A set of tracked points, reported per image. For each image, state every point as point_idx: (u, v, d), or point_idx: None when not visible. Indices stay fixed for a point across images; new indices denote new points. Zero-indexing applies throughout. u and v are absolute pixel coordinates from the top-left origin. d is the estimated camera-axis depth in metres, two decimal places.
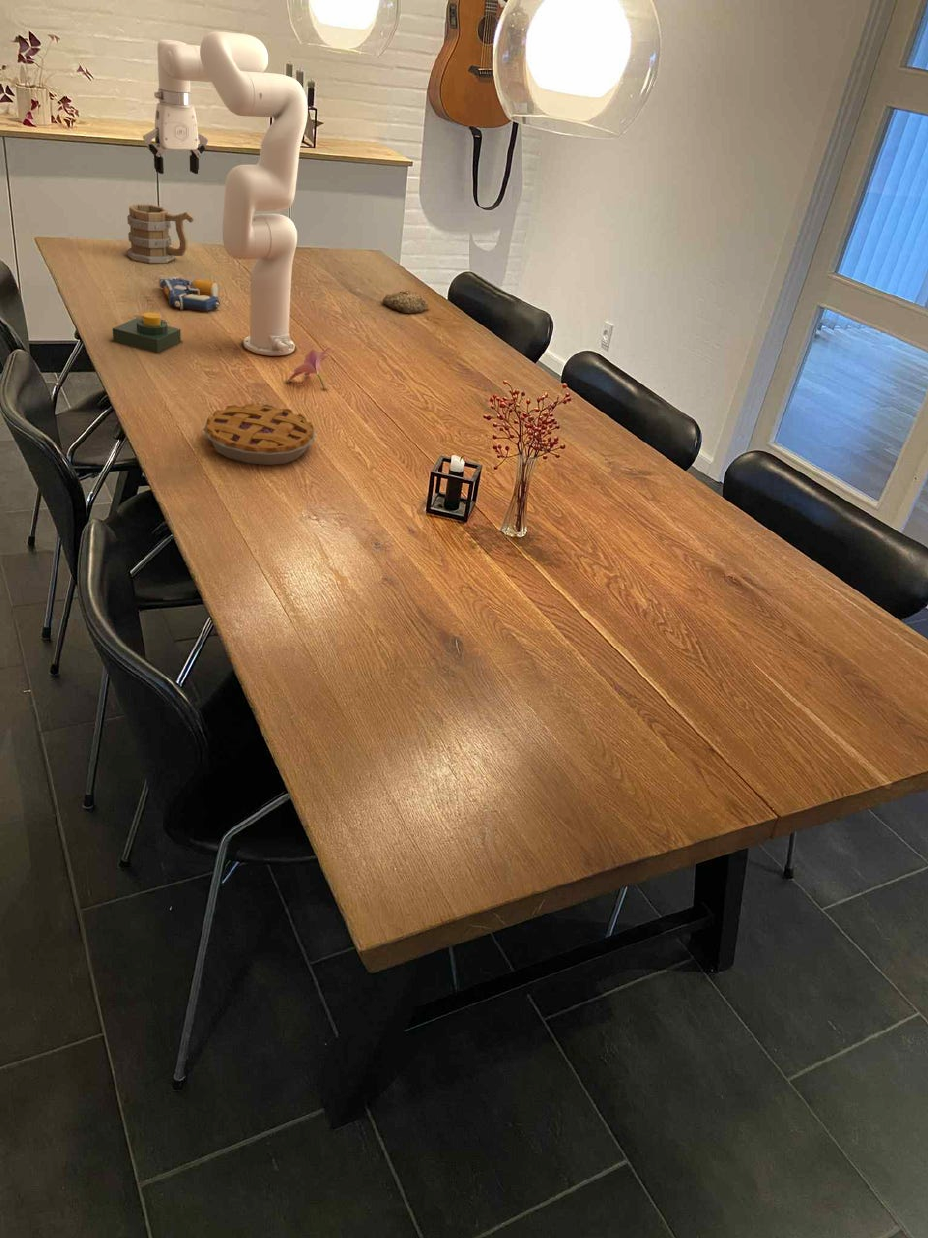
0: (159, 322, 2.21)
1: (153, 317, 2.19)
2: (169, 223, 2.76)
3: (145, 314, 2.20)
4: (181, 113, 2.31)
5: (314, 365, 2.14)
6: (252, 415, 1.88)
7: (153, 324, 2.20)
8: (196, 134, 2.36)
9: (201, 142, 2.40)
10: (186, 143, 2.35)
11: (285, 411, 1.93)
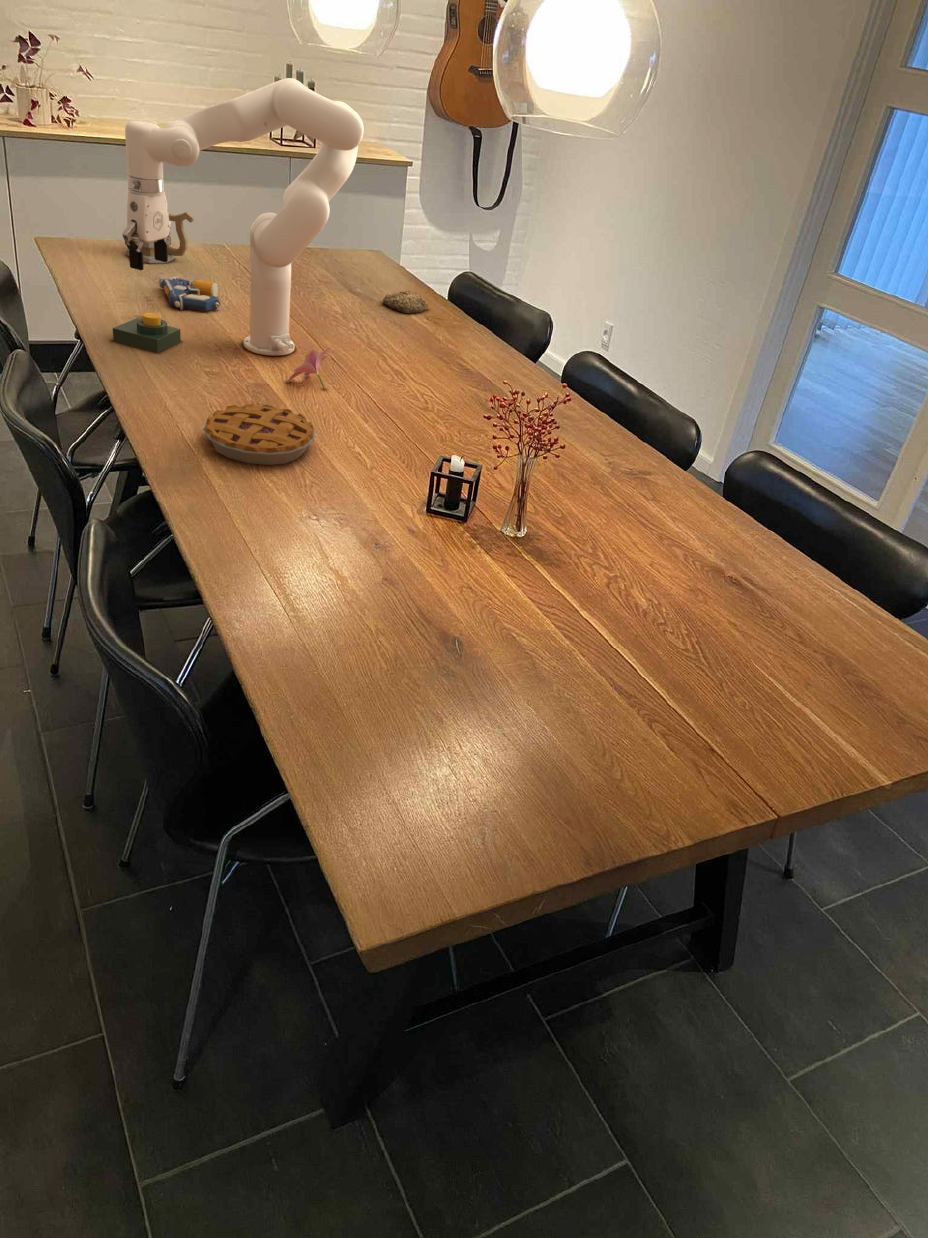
0: (159, 322, 2.21)
1: (153, 317, 2.19)
2: None
3: (145, 314, 2.20)
4: (158, 201, 2.06)
5: (314, 365, 2.14)
6: (252, 415, 1.88)
7: (153, 324, 2.20)
8: (168, 220, 2.11)
9: None
10: (162, 232, 2.10)
11: (285, 411, 1.93)
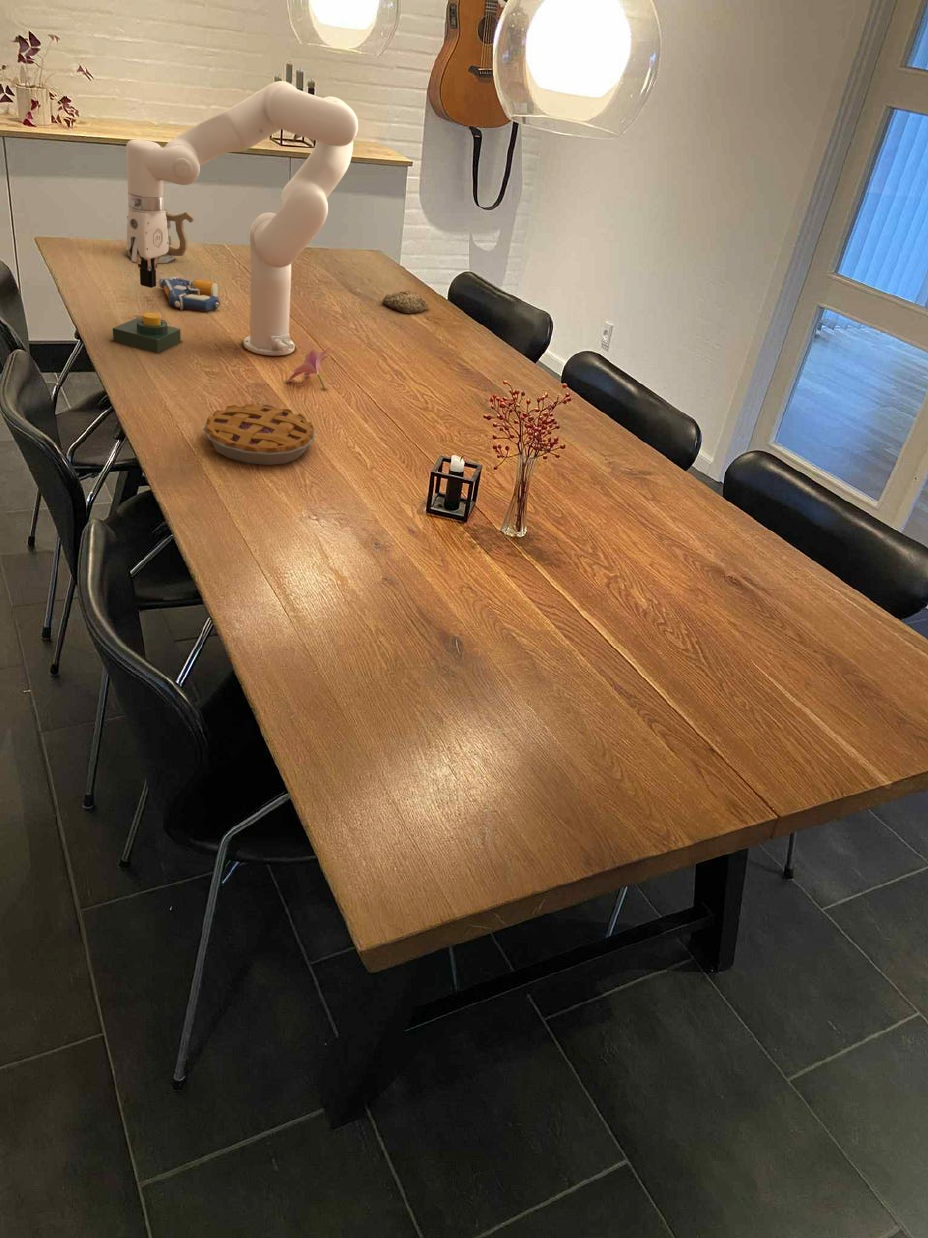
0: (159, 322, 2.21)
1: (153, 317, 2.19)
2: (169, 223, 2.76)
3: (145, 314, 2.20)
4: (158, 218, 2.07)
5: (314, 365, 2.14)
6: (252, 415, 1.88)
7: (153, 324, 2.20)
8: (167, 237, 2.13)
9: None
10: (161, 249, 2.12)
11: (285, 411, 1.93)
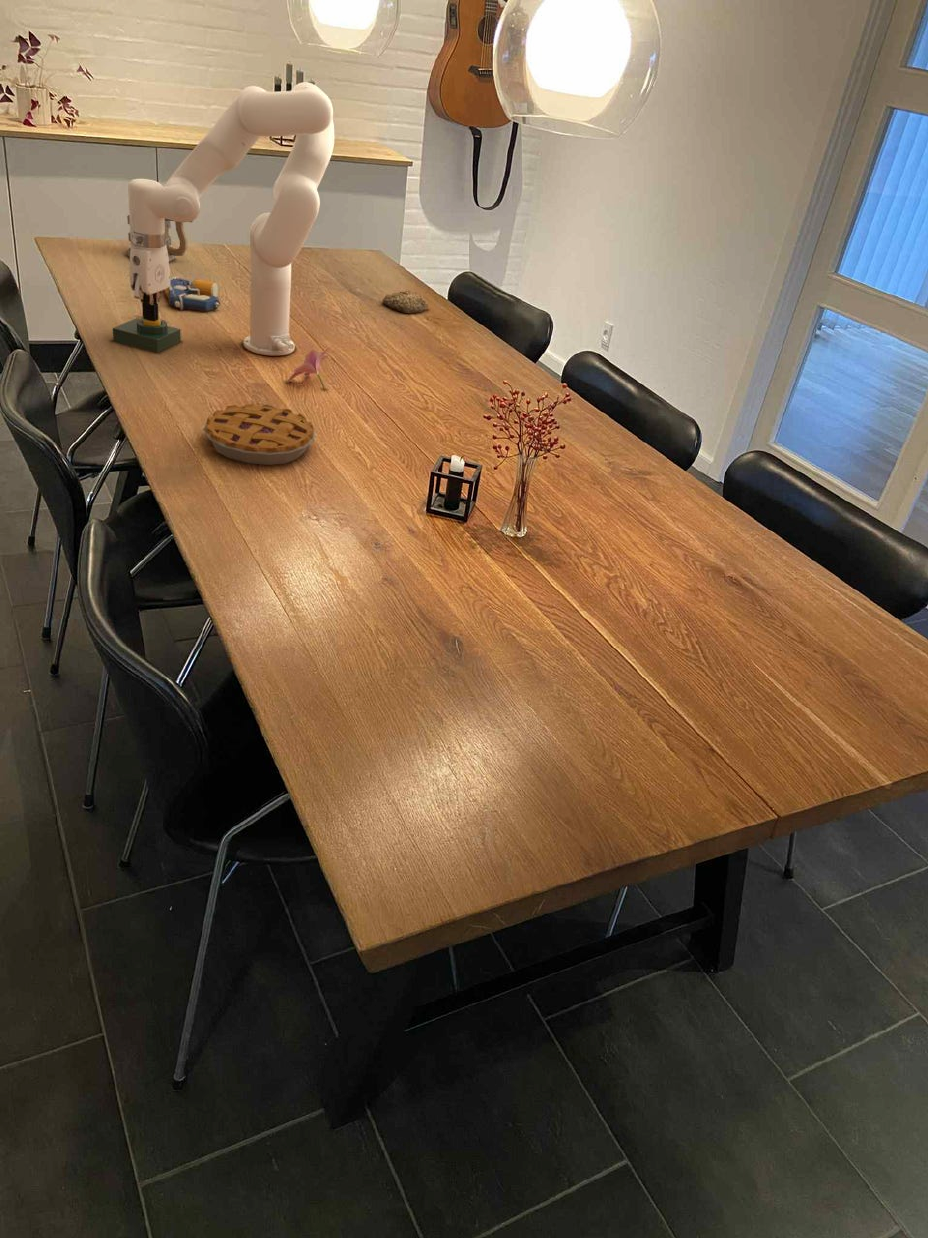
0: None
1: (153, 321, 2.20)
2: (169, 223, 2.76)
3: None
4: (159, 255, 2.12)
5: (314, 365, 2.14)
6: (252, 415, 1.88)
7: None
8: (169, 272, 2.18)
9: None
10: (163, 284, 2.17)
11: (285, 411, 1.93)
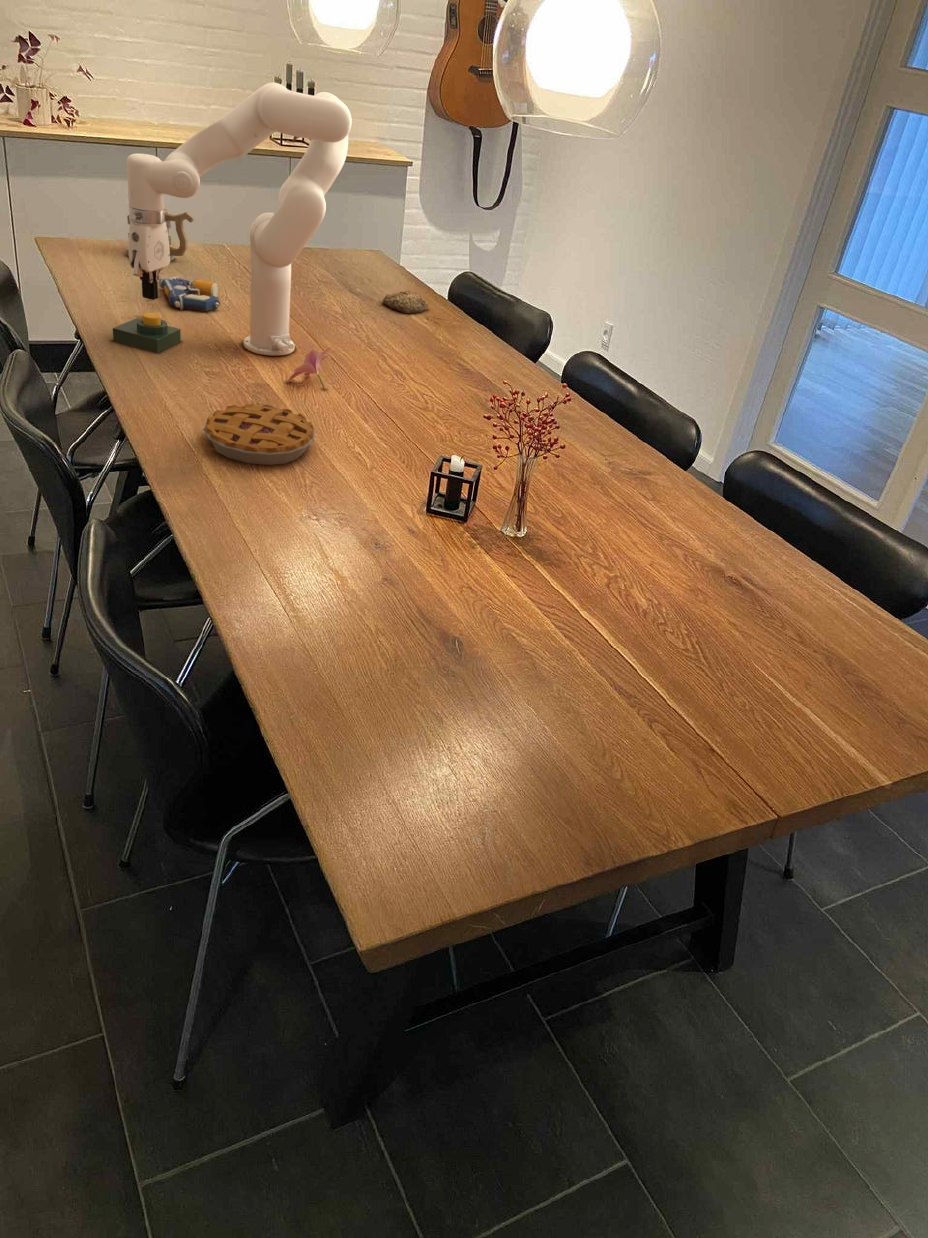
0: (159, 322, 2.21)
1: (153, 317, 2.19)
2: (169, 223, 2.76)
3: (145, 314, 2.20)
4: (159, 231, 2.09)
5: (314, 365, 2.14)
6: (252, 415, 1.88)
7: (153, 324, 2.20)
8: (169, 249, 2.15)
9: None
10: (163, 261, 2.14)
11: (285, 411, 1.93)
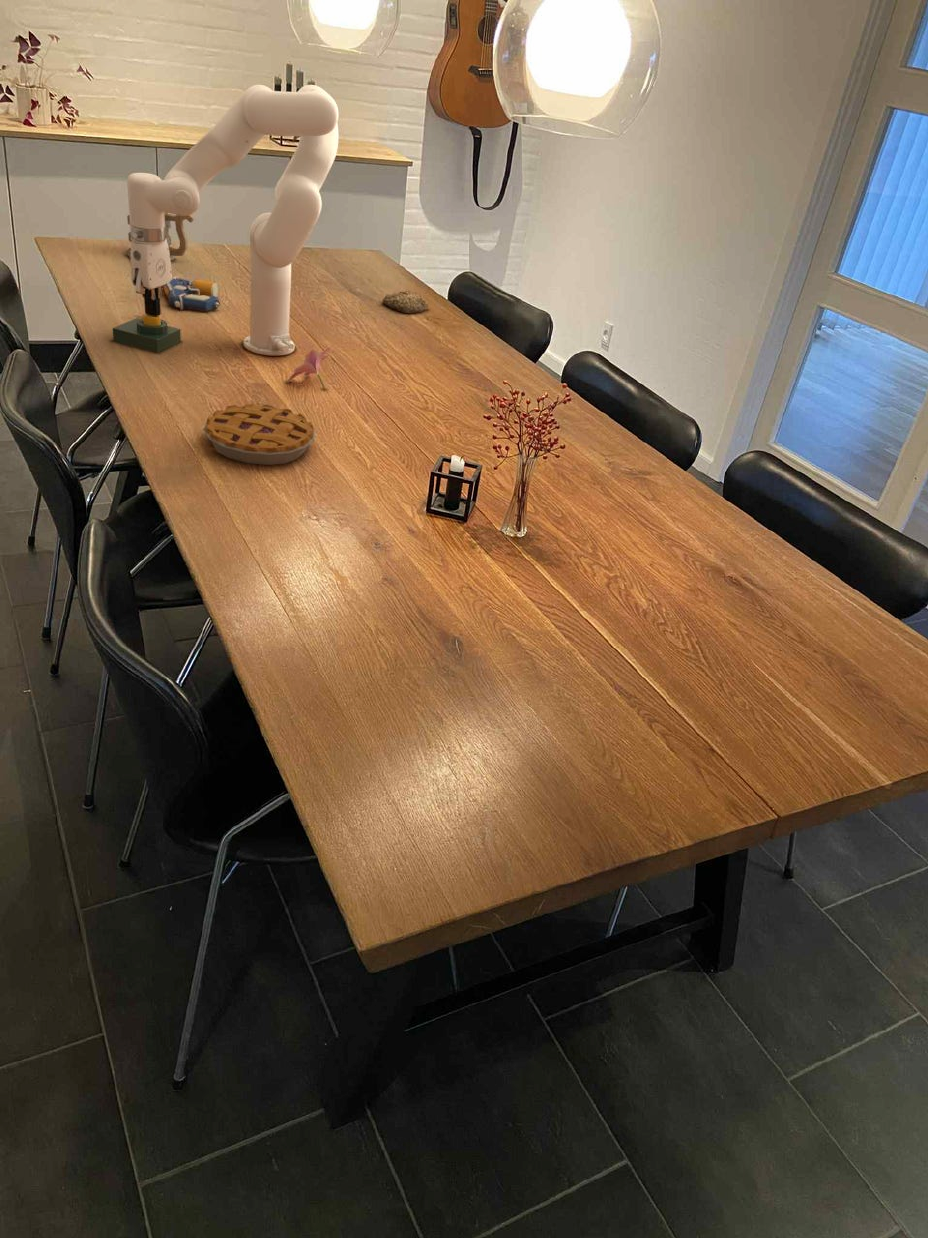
0: (159, 322, 2.21)
1: (153, 317, 2.19)
2: (169, 223, 2.76)
3: (145, 314, 2.20)
4: (160, 249, 2.11)
5: (314, 365, 2.14)
6: (252, 415, 1.88)
7: (153, 324, 2.20)
8: (170, 266, 2.17)
9: None
10: (164, 278, 2.16)
11: (285, 411, 1.93)
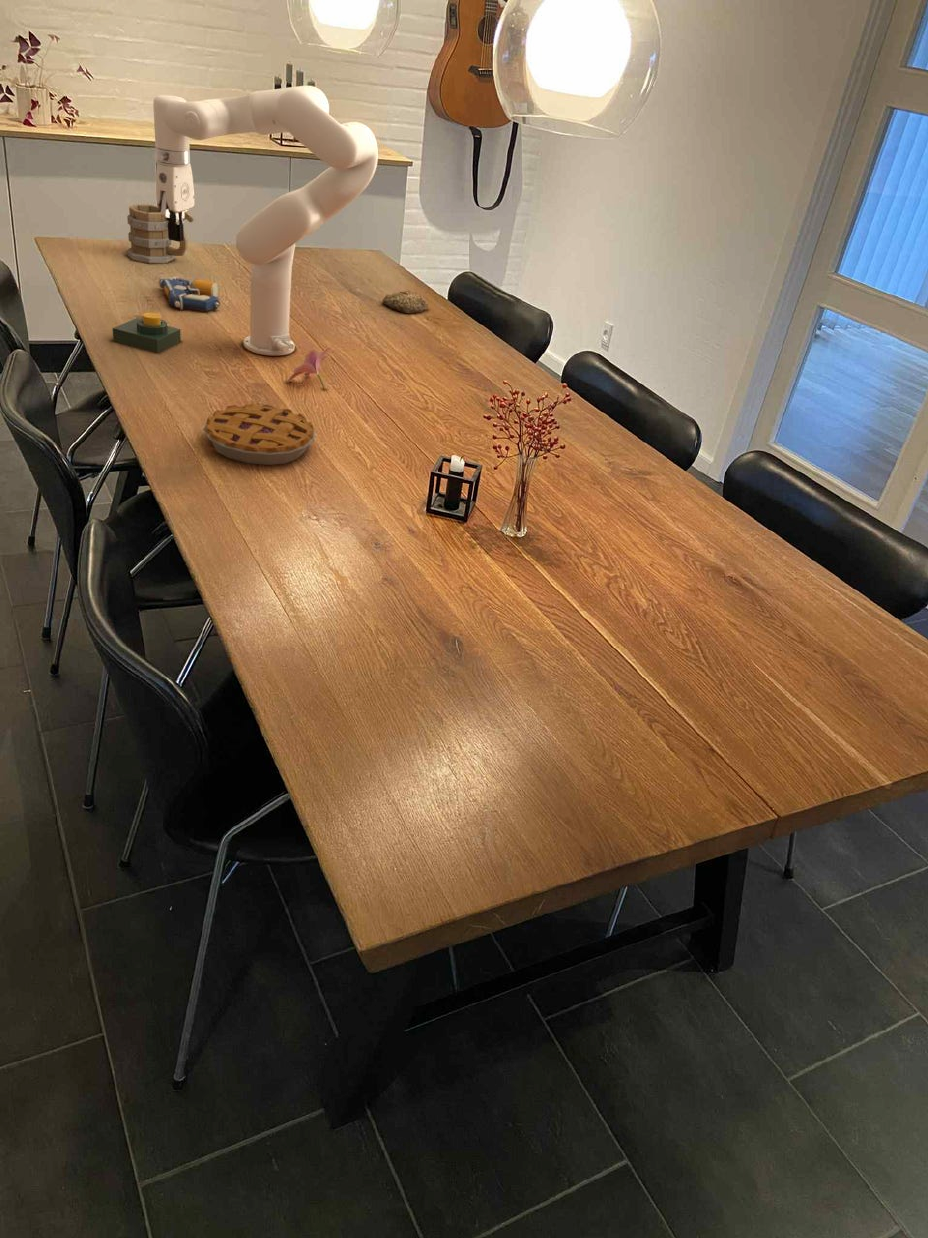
0: (159, 322, 2.21)
1: (153, 317, 2.19)
2: None
3: (145, 314, 2.20)
4: (184, 172, 2.15)
5: (314, 365, 2.14)
6: (252, 415, 1.88)
7: (153, 324, 2.20)
8: (193, 191, 2.21)
9: None
10: (188, 203, 2.20)
11: (285, 411, 1.93)
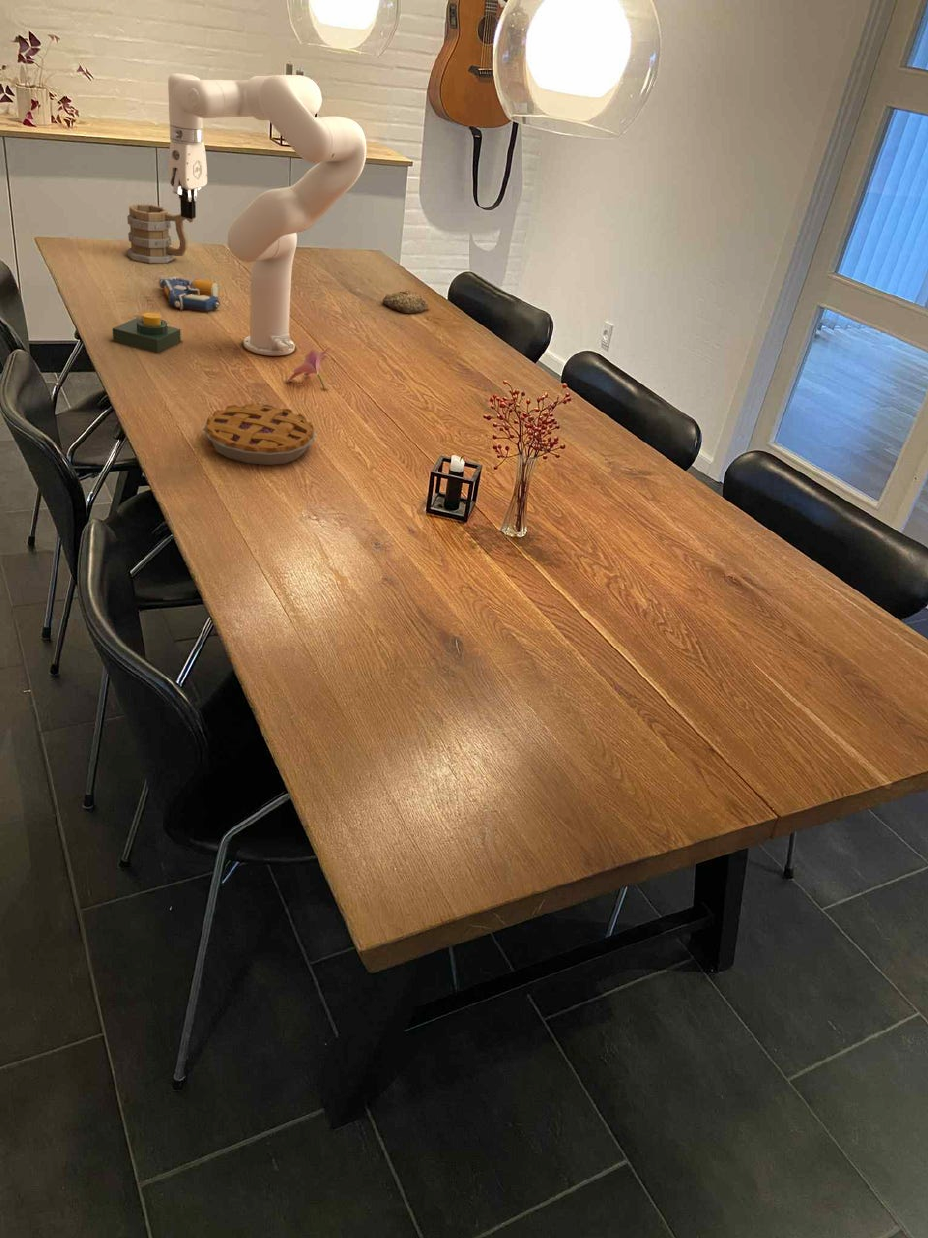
0: (159, 322, 2.21)
1: (153, 317, 2.19)
2: (169, 223, 2.76)
3: (145, 314, 2.20)
4: (197, 150, 2.19)
5: (314, 365, 2.14)
6: (252, 415, 1.88)
7: (153, 324, 2.20)
8: (206, 169, 2.25)
9: None
10: (200, 181, 2.24)
11: (285, 411, 1.93)
